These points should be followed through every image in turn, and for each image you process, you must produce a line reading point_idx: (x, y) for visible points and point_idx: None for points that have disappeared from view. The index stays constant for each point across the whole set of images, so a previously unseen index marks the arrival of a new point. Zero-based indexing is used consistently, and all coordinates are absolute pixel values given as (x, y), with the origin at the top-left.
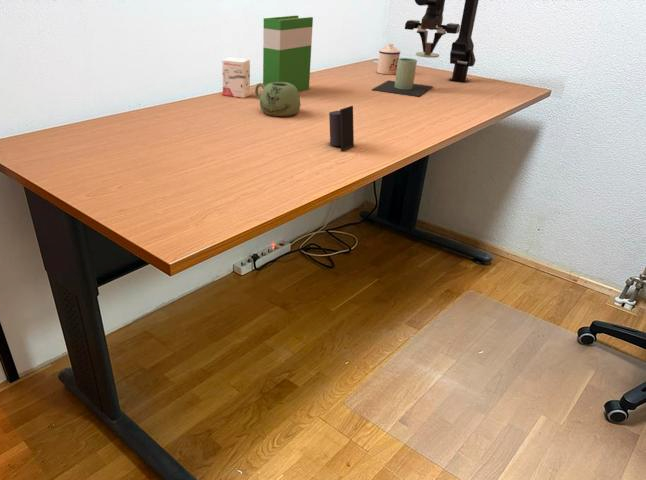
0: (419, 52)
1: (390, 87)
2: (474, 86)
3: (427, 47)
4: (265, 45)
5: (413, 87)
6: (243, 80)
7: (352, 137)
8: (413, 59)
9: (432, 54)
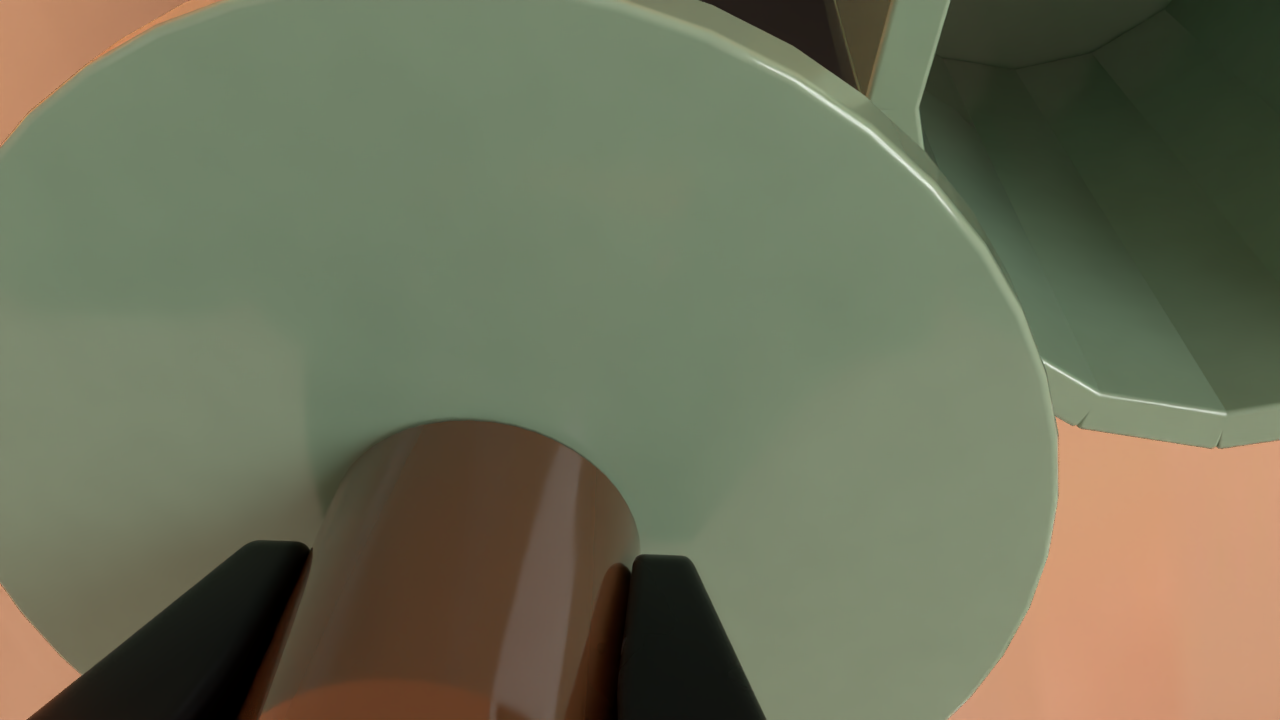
0: (909, 677)
1: None
2: (16, 698)
3: (424, 674)
4: None
5: (803, 18)
6: None
7: None
8: (1054, 366)
9: (252, 525)
